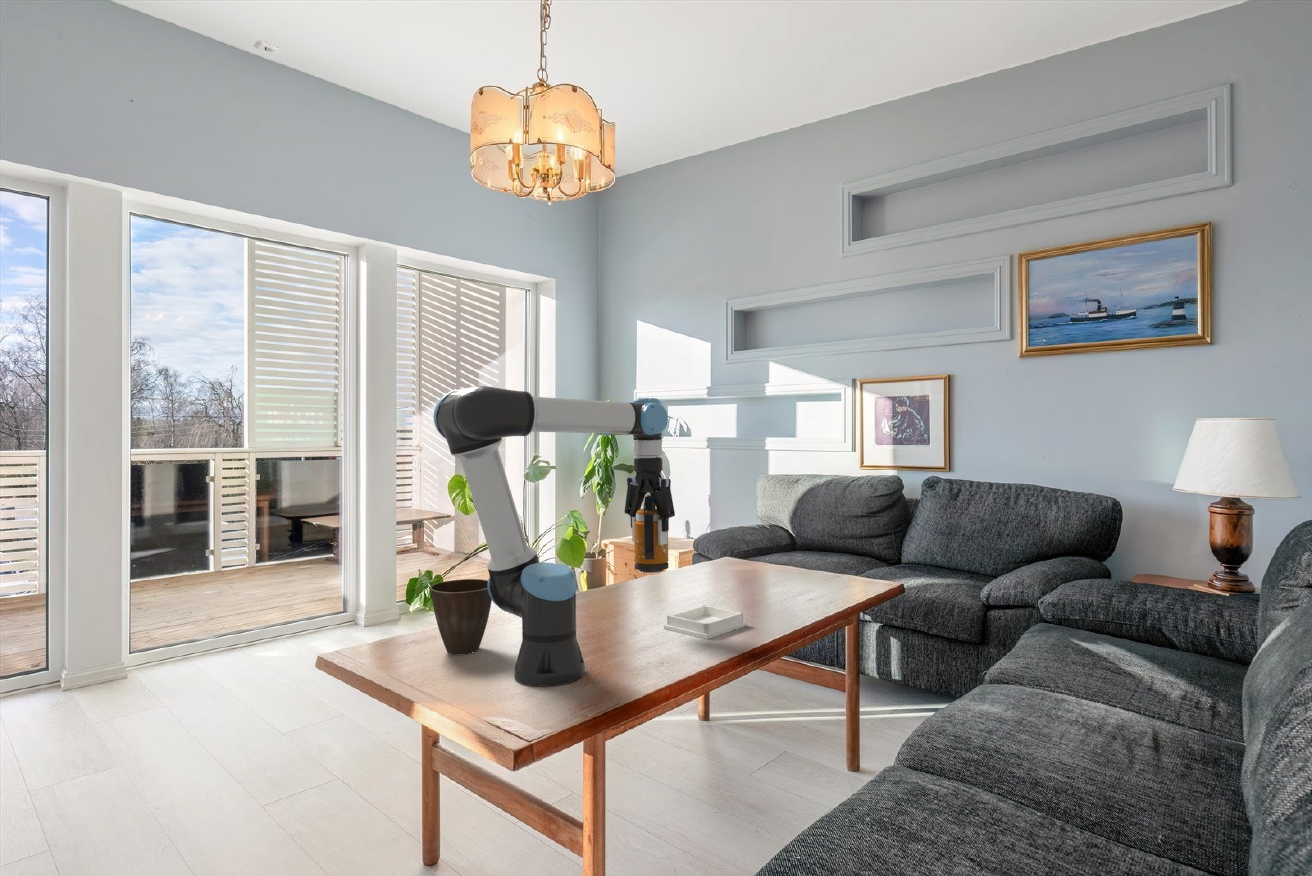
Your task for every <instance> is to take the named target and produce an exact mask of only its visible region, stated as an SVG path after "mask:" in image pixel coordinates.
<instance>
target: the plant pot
mask: <svg viewBox="0 0 1312 876" xmlns="http://www.w3.org/2000/svg"><path fill="white" fill-rule="evenodd" d="M430 594H431V600H432V606H433V611H434V612H433V613H434V617H435V620H436V623H437V628H438V631H439V635H440V636H441V640H442V642H443V646H444V647H445V651H446V652H447V653H448V654H449V653H450V654H449V655H453V654H455V655H454V656H462V655H461V654H466V655H470V654H469V653H471V654H473V653H472V652H474V653H475V652H477V651H478V650H479V649H480V646H481V644H482V640H483V637H484V635H485V633H486V632H485V631H486V628H487V625H488V621H489V615H490V612H491V606H492V602H493V601H492V599H491V598H490V595H489V592H488V580H486V579H478V578H477V579H475V578H467V579H466V578H464V579H463V578H462V579H453V580H452V579H451V580H445V581H441V582H437V583H434V584H433V585H431V586H430ZM456 654H458V655H456ZM459 654H460V655H459Z"/></svg>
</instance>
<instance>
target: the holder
mask: <svg viewBox="0 0 1312 876" xmlns="http://www.w3.org/2000/svg"><path fill="white" fill-rule="evenodd" d="M666 618H667V623H666V624H663V629H664V630H667V629H668V630H669V631H671V630H672V631H671V632H675V633H679V634H684V635H687V634H688V635H687V636H691V637H696V638H701V639H704V638H705V639H704V640H709V639H712V638H715V637H718V636H721V635H724V634H726V633H731V632H732V630H733V631H735V630H734V629H736V630H739V629H741V627H742V628H744V626H745V627H747V625H748V624H747V623H748V622H747V621H744V612H740V611H736V610H730V609H727V608H726V609H724V608H720V607H714V606H709V605H705V604H704V605H700V606H696V607H693V608H690V609H687V610H683V611H678V612H676V613H671V614H669V615H667V617H666ZM668 630H667V631H668ZM720 634H721V635H720Z"/></svg>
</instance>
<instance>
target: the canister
mask: <svg viewBox="0 0 1312 876" xmlns="http://www.w3.org/2000/svg"><path fill="white" fill-rule="evenodd" d="M658 518H660V516H659V513H658V510H657V508H656V505H655V502H654V498H653V497H652V496H651V495H650V494H646V495H645V497H644V500H643V508H642V509H640V510H638V511H637V513H636V521H635V522H634V543H633V545H634V547H633V551H634V553H633V554H634V569H635V570H638V571H639V572H641V573H648V574H650V573H654V574H655V573H661V572H663V571H665V570H667V569H669V530H668V531H667V544H663V545H658Z"/></svg>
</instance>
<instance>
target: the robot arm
mask: <svg viewBox="0 0 1312 876" xmlns="http://www.w3.org/2000/svg"><path fill="white" fill-rule="evenodd" d="M433 423H434V426H435V429H436V430H437V432H438V433H439V434H440V435H441V436H442V438H444V439H445V440H446V442H447V447H448V449H449V451H450V455H451V456H453V457H454V458H457V460H459V461H460V463H461V466H462V469H463V472H464V475H465V479H466V483H467V486H468V488H469V492H470V495H471V498H472V501H473V505H474V507H475V511H476V514H477V518H478V520H479V523H480V526H481V530H482V532H483V536H484V539H485V542H486V546H487V548H488V551H489V555H490V560H489V562H488V564H487V571H488V574H489V578H488V592H489V595H490V598H491V599H492V602H493V603H494V605H495V606H497V607H498V608H499V609H501V610H502V611H504V612H506V613H509V614H512V615H514V616H517V617H519V618H521V624H522V625H521V626H522V627H521V630H522V633H521V635H522V636H521V637H522V638H521V639H522V640H521V645H520V647H519V650H518V651H519V652H518V655H517V658H516V662H515V664H514V679H515V681H517V682H519V684H522V685H526V686H531V687H532V686H533V687H553V686H561V685H566V684H570V683H573V682H576V681H578V680H580V679H581V678H583V677H584V675H585V673H586V672H585V671H586V666H585V665H586V664H585V660H584V658H583V654H582V651H581V648H580V645H579V643H578V639H577V589H578V587H577V583H576V582H577V581H576V574H575V571H573V569H572V568H571V567H569V566H568V565H564V564H561V563H554V562H540V559H539V557H538V554H537V551H536V549H534V548H532V547H530V546H529V545H528V543H527V541H526V537H525V533H524V530H523V527H522V524H521V520H520V516H519V514H518V510H517V507H516V505H515V500H514V497H513V494H512V490H511V488H510V484H509V482H508V481H509V480H508V478H507V475H506V471H505V468H504V465H503V462H502V458H501V457H502V456H501V454H500V451H499V447H500V446H501V443H502V441H503V438H510V437H528V436H529V435H531V433H533V432H534V433H567V434H568V433H570V434H571V433H572V434H573V433H576V434H579V433H580V434H597V435H599V436H607V437H608V436H630V435H631V436H632V439H633V440H632V441H633V456H634V457H635V458H633V471H634V472H635V476H633V477H632V476H631V477H627V478H626V485H627V490H626V497H625V502H624V503H625V504H624V505H625V506H624V514H626V515H629V517H630V527H631V533H632V534H631V535H632V537H631V538H632V539H631V540H632V542H634V522H635V521H636V513H637V511H638V510H640V509H641V508H642V505H643V504H644V500H645V496H646V495H648V494H649V495H651V496H652V497H653V498H654V502H655V505H656V506H655V509H657V510H658V513H659V516H660V518H658V545H663V544H667V531H668V532H669V530H670V524H669V523H670V521H669V520H670V518H674V517H675V516H676V512H675V507H674V501H673V495H672V491H671V486H672V484H671V481H672V480H671V479H670V478H664V477H662V475H661V473H662V472H663V458H662V457H661V456H662V455H663V448H662V447H663V442H662V441H663V440H662V437H663V436H662V435H663V434H662V432H664V431H665V429H666V428H667V426H668V423H669V416H668V412H667V410H666V408H665V407H664V406H663V405H662V404H661V401H660V399H658V398H654V397H649V398H648V397H642V398H638V397H637V398H634V399H633V400H632V402H626V401H609V400H594V399H577V398H561V397H559V398H558V397H546V396H545V397H542V396H533V394H532V393H531V392H529V391H524V390H523V391H522V390H515V389H505V388H502V387H501V388H499V387H495V386H494V387H493V386H488V385H487V386H486V385H476V386H472V387H463V388H456V389H454V390H452V391H449V392H448V393H447V392H446V394H444V395H443V396H441V398H440V399H439V400H438V402H437V403H436V405H435V407H434V410H433Z"/></svg>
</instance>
